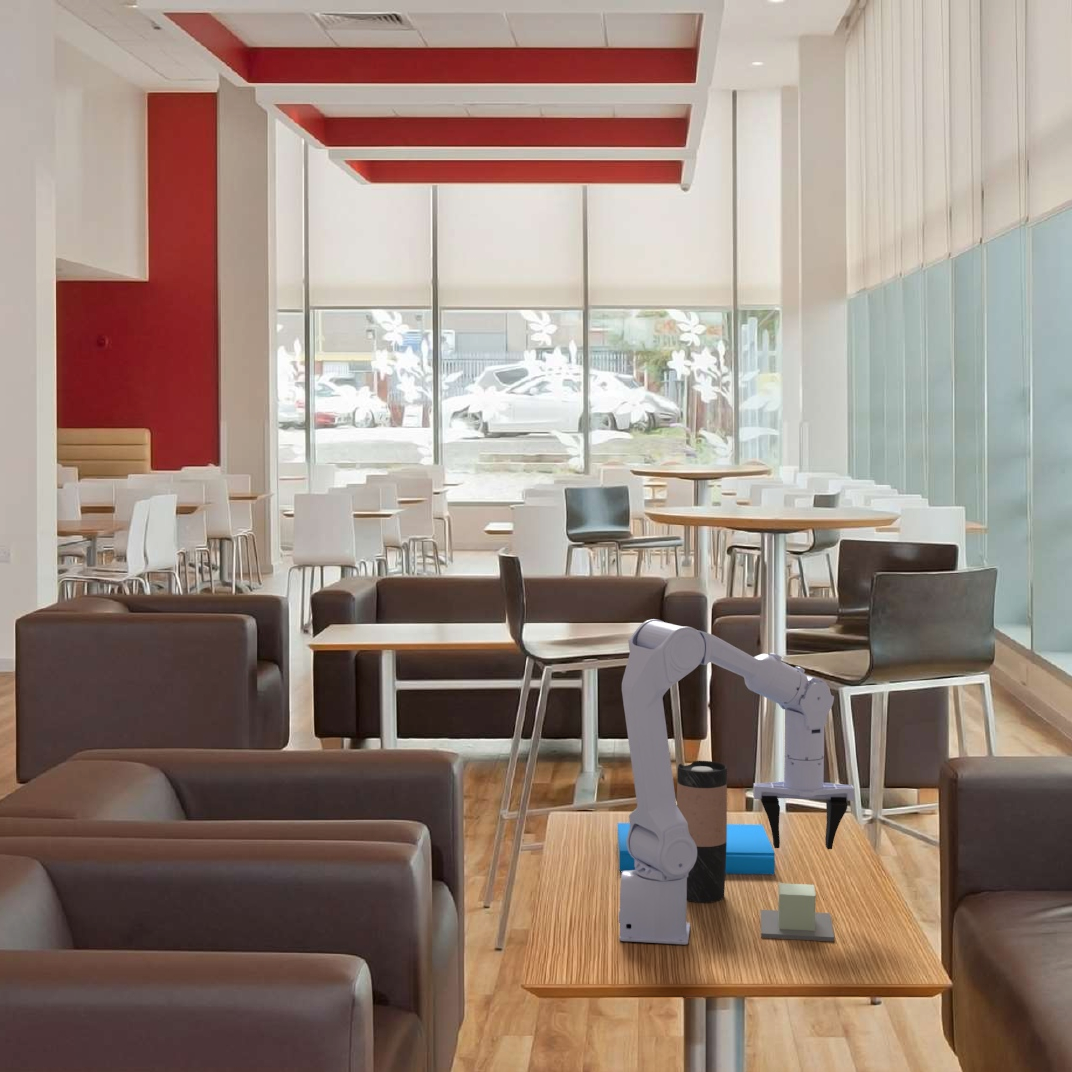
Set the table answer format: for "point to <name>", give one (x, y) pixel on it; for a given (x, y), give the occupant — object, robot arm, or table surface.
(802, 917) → the cube
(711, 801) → the travel mug
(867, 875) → the table surface
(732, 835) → the book
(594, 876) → the table surface
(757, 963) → the table surface
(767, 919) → the coaster
